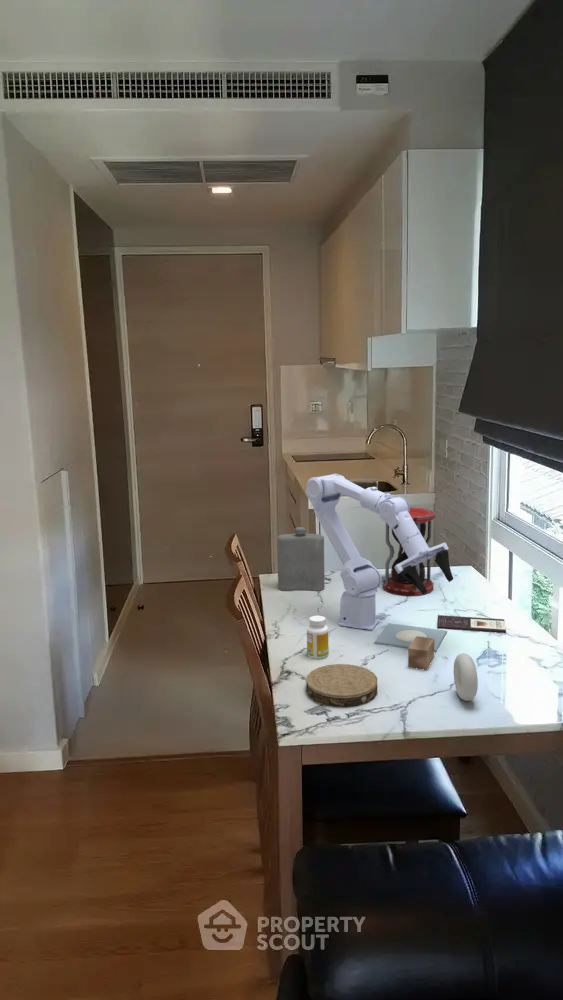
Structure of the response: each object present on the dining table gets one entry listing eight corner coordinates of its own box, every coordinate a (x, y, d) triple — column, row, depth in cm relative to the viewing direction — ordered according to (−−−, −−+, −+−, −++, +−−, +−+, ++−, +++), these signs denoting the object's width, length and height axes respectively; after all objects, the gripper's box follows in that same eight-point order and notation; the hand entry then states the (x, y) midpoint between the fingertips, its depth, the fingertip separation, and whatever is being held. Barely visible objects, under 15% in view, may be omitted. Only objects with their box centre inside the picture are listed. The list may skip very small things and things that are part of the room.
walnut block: (408, 667, 170) (408, 648, 169) (416, 655, 177) (416, 636, 176) (426, 670, 168) (427, 651, 167) (434, 657, 175) (434, 638, 174)
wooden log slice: (292, 689, 160) (291, 677, 160) (343, 669, 170) (343, 658, 169) (339, 716, 148) (339, 703, 147) (392, 693, 157) (392, 680, 157)
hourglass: (375, 582, 233) (375, 508, 228) (420, 578, 237) (421, 505, 232) (394, 598, 218) (394, 519, 213) (442, 593, 222) (444, 515, 217)
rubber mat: (374, 643, 184) (374, 641, 184) (388, 624, 197) (388, 622, 197) (435, 652, 178) (435, 650, 178) (446, 632, 190) (447, 630, 190)
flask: (324, 585, 232) (323, 525, 228) (324, 591, 226) (323, 530, 222) (279, 585, 233) (277, 526, 229) (277, 591, 227) (276, 530, 223)
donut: (451, 688, 158) (452, 646, 157) (466, 687, 158) (467, 645, 157) (462, 709, 149) (464, 665, 147) (479, 709, 149) (480, 664, 147)
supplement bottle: (331, 651, 180) (330, 615, 178) (325, 660, 175) (324, 623, 173) (310, 649, 181) (310, 613, 179) (304, 657, 176) (303, 620, 174)
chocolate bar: (438, 615, 202) (504, 619, 197) (438, 618, 202) (504, 622, 198) (437, 626, 193) (506, 631, 189) (437, 630, 193) (506, 634, 189)
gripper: (390, 545, 175) (417, 594, 170) (439, 523, 178) (467, 570, 174) (384, 554, 181) (410, 601, 177) (432, 532, 185) (459, 578, 180)
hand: (438, 586), depth 176 cm, fingers open, 7 cm apart
